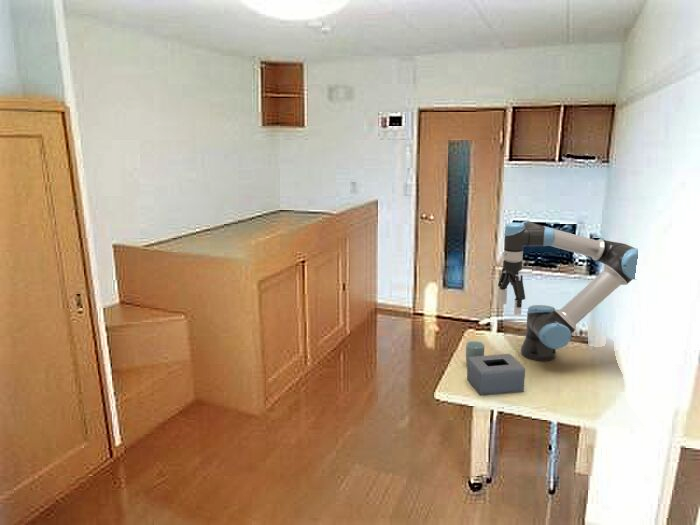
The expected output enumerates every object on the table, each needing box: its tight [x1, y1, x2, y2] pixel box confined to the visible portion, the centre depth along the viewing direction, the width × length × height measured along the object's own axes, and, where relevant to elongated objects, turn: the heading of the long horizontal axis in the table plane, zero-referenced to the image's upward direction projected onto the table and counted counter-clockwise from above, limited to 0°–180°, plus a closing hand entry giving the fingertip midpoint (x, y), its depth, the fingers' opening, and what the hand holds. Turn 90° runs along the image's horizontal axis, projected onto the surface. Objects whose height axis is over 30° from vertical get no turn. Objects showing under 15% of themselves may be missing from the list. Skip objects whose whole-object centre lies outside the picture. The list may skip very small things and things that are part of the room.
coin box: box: [466, 353, 526, 397], centre depth 207 cm, size 18×14×10 cm
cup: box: [465, 340, 485, 365], centre depth 225 cm, size 8×8×10 cm
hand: (510, 309), depth 218 cm, fingers open, 13 cm apart
